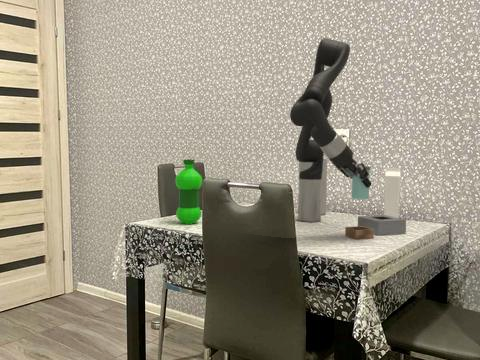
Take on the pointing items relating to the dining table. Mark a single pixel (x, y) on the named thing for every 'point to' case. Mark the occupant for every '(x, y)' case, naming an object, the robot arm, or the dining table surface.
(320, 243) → the dining table surface
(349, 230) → the brown wooden square frame
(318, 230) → the dining table surface
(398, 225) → the port
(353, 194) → the plug
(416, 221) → the dining table surface
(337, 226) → the dining table surface
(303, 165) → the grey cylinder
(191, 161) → the plastic bottle
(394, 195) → the milk
